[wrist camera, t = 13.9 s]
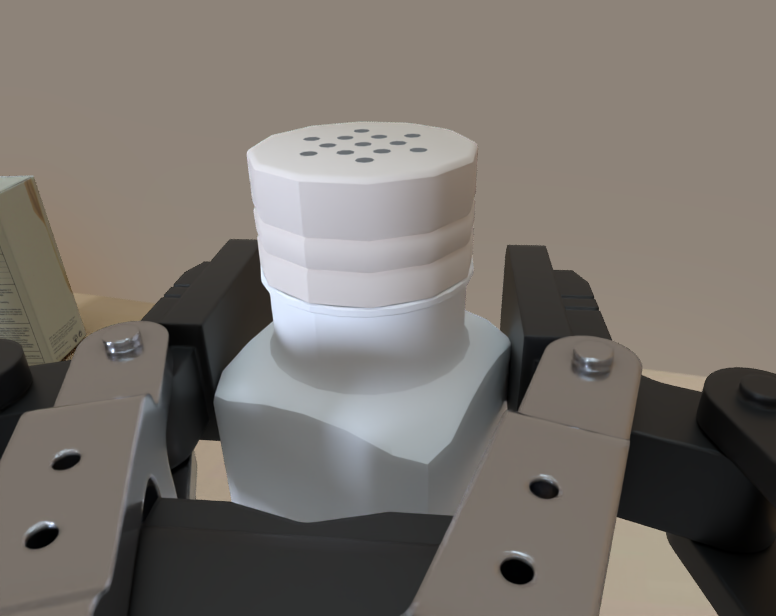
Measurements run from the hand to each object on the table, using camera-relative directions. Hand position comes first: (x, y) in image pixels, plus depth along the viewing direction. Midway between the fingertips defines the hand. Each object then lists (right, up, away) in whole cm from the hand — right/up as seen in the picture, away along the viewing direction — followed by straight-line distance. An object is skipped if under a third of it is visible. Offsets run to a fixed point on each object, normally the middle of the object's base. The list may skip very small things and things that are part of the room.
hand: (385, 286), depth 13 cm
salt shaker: (0, -7, +1) cm, 7 cm away
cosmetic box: (-25, -4, +32) cm, 41 cm away
